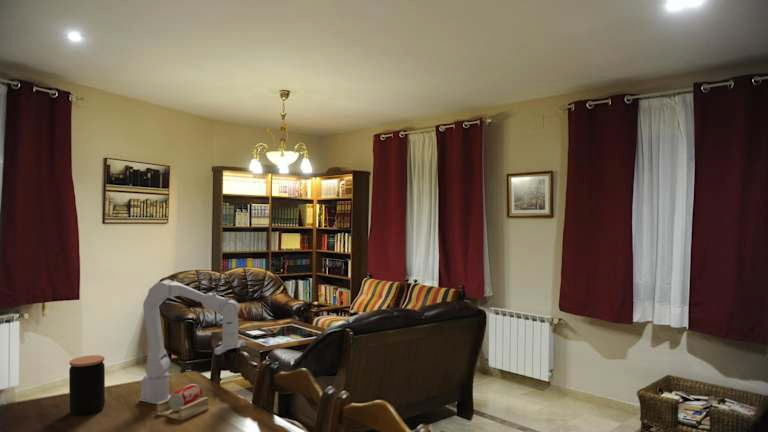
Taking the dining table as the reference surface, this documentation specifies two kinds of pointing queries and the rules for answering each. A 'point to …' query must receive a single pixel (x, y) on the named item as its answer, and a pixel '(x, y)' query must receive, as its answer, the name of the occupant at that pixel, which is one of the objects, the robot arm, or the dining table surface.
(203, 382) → the dining table surface
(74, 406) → the coffee jar
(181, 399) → the soda can
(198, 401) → the cradle
